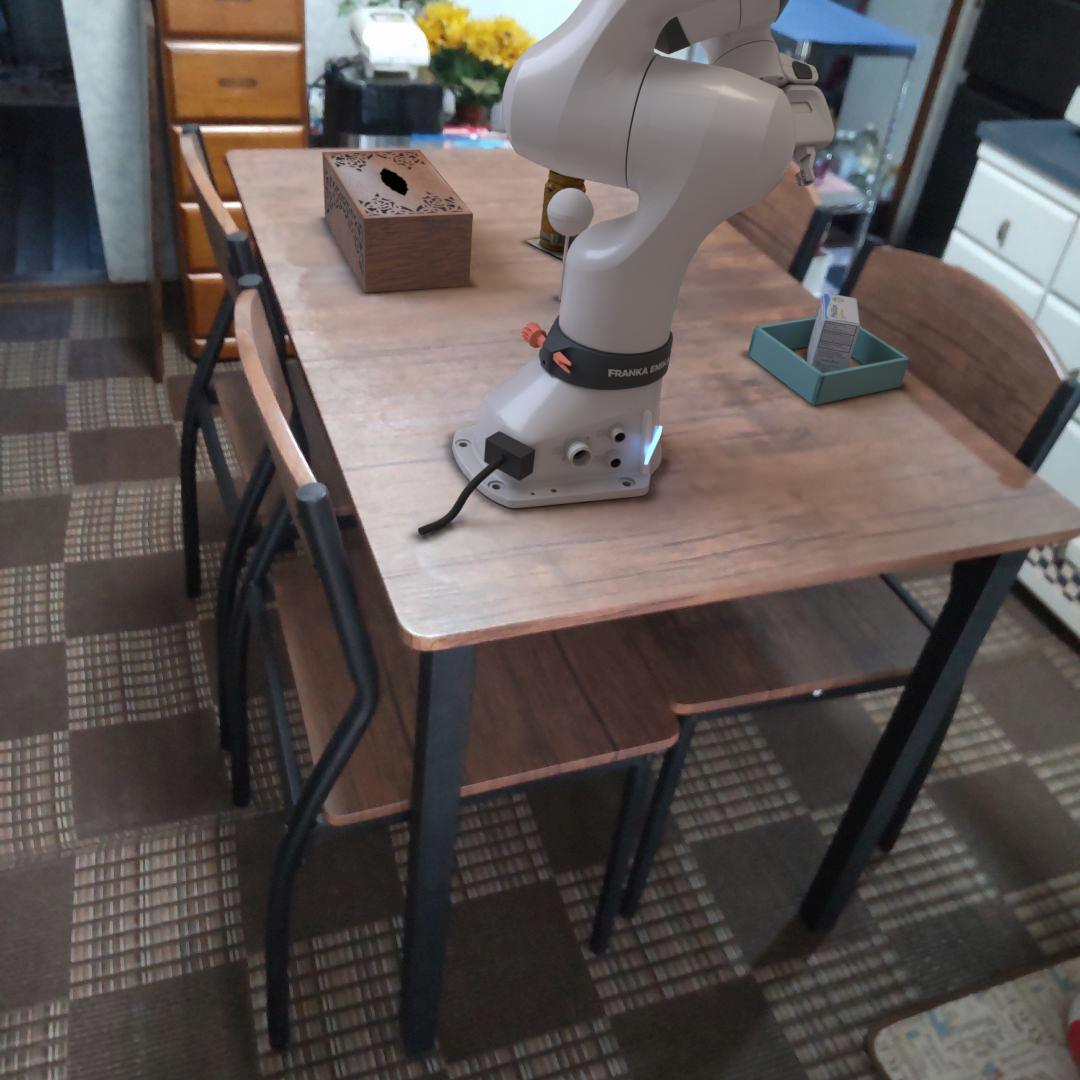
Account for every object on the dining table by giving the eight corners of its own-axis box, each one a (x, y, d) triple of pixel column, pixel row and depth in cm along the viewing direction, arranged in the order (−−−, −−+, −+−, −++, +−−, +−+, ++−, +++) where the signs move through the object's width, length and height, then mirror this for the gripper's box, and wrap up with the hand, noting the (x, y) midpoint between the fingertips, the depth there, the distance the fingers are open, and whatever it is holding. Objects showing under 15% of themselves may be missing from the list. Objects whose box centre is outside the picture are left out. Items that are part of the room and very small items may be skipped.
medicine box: (841, 388, 123) (862, 324, 118) (805, 382, 123) (824, 318, 118) (839, 360, 129) (858, 297, 124) (805, 353, 130) (822, 291, 124)
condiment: (560, 233, 154) (568, 154, 147) (599, 252, 150) (609, 171, 142) (525, 242, 150) (532, 161, 143) (564, 262, 146) (573, 180, 138)
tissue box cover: (325, 219, 150) (322, 151, 144) (418, 215, 155) (419, 149, 148) (365, 292, 131) (364, 218, 125) (469, 285, 136) (473, 213, 130)
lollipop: (560, 286, 139) (573, 178, 130) (591, 302, 136) (606, 192, 127) (528, 296, 135) (539, 186, 126) (559, 313, 132) (572, 201, 123)
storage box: (813, 405, 119) (822, 376, 116) (747, 355, 128) (754, 326, 125) (900, 387, 125) (910, 358, 122) (831, 339, 134) (839, 312, 131)
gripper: (695, 71, 119) (726, 181, 119) (826, 67, 127) (855, 169, 127) (668, 99, 125) (697, 204, 124) (795, 93, 133) (823, 192, 133)
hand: (778, 187), depth 126 cm, fingers open, 8 cm apart
